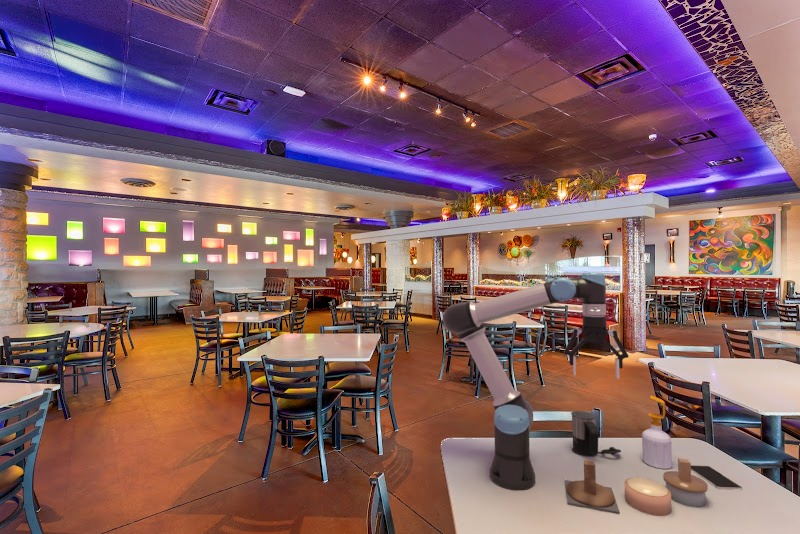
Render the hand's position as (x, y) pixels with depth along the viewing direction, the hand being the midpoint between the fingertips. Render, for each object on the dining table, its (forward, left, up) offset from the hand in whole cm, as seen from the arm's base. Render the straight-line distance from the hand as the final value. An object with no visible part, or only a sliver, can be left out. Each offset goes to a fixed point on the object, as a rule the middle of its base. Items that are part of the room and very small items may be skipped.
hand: (595, 376), depth 134 cm
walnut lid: (-4, -15, -34) cm, 38 cm away
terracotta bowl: (+12, -13, -35) cm, 39 cm away
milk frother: (+2, +19, -35) cm, 40 cm away
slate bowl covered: (+24, -5, -35) cm, 42 cm away
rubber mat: (-4, -15, -35) cm, 38 cm away
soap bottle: (+22, +18, -35) cm, 45 cm away
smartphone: (+37, +13, -35) cm, 53 cm away
